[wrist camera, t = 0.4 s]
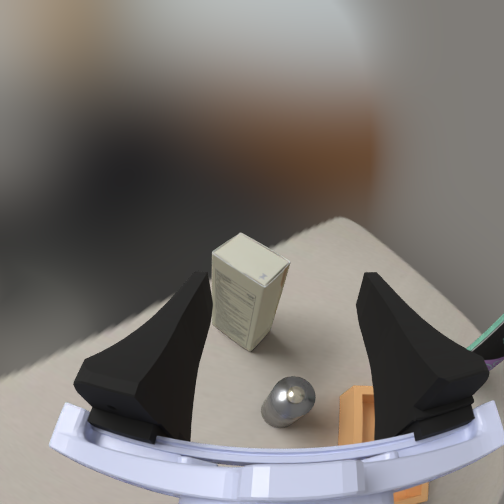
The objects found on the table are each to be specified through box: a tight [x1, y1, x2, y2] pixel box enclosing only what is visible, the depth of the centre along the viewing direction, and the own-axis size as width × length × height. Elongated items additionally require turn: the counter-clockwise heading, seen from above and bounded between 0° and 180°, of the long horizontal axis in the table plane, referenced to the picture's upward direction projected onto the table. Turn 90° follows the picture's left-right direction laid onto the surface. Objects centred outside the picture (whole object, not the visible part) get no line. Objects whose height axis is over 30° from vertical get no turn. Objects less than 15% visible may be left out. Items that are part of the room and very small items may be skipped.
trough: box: [338, 385, 429, 504], centre depth 21 cm, size 15×10×4 cm, turn 172°
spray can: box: [466, 314, 504, 371], centre depth 23 cm, size 6×6×20 cm
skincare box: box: [212, 233, 290, 351], centre depth 29 cm, size 6×4×12 cm
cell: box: [261, 376, 315, 428], centre depth 24 cm, size 4×4×7 cm
